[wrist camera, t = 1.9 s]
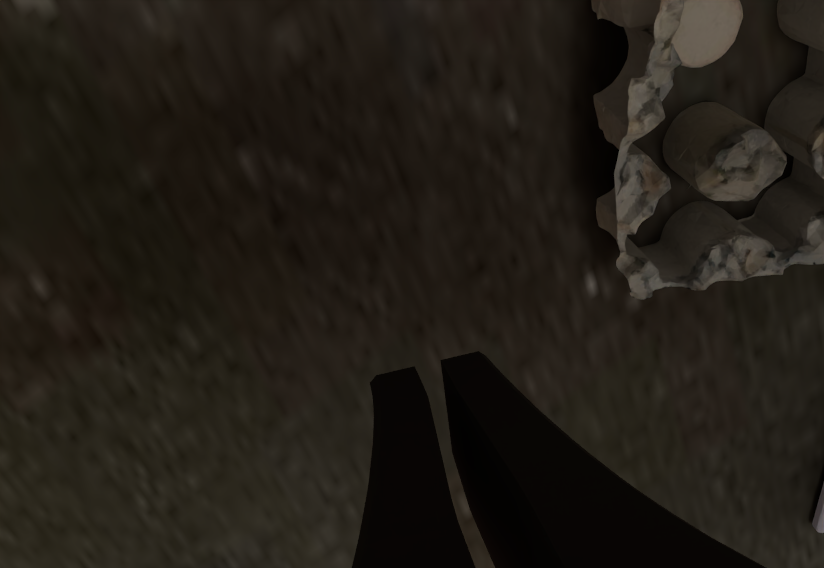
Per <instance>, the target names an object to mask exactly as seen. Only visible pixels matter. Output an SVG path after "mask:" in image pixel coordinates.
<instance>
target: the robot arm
mask: <svg viewBox="0 0 824 568" xmlns="http://www.w3.org/2000/svg"><path fill="white" fill-rule="evenodd" d="M441 366H442V374H443V382H444V390H445V398H446V406H447V414H448V422H449V430H450V437H451V445H452V453H453V456H454V459H455V463H456V466H457V469H458V472H459V476H460V479H461V482H462V485H463V488H464V492H465V495H466V498H467V501H468V504H469V507H470V510H471V513H472V515H473V517H474V520H475V522H476V524H477V527H478V529H479V531H480V534H481V536H482V538H483V540H484V543H485V545H486V547H487V550H488V552H489V554H490V557H491V559H492V561H493V563H494V566H495V568H766V567H764V566H762V565H760V564H758V563H757V562H755V561H753V560H751V559H749V558H747V557H746V556H744V555H742V554H740V553H738V552H737V551H735V550H733V549H731V548H729V547H727V546H726V545H724V544H722V543H720V542H718V541H716V540H715V539H713V538H711V537H709V536H708V535H706V534H705V533H703V532H701V531H700V530H698V529H696V528H695V527H693V526H692V525H690V524H688V523H687V522H685V521H684V520H682V519H680V518H679V517H677V516H676V515H674V514H672V513H671V512H669V511H668V510H666V509H665V508H663V507H662V506H660V505H659V504H657V503H656V502H654V501H653V500H651V499H650V498H648V497H647V496H645V495H644V494H643V493H641V492H640V491H638V490H637V489H636V488H634V487H633V486H631V485H630V484H629V483H627V482H626V481H625V480H623V479H622V478H620V477H619V476H618V475H616V474H615V473H614V472H612V471H611V470H610V469H609V468H607V467H606V466H605V465H603V464H602V463H601V462H600V461H598V460H597V459H596V458H594V457H593V456H592V455H591V454H589V453H588V452H587V451H586V450H585V449H583V448H582V447H581V446H580V445H578V444H577V443H576V442H575V441H574V440H572V439H571V438H570V437H569V436H568V435H567V434H566V433H564V432H563V431H562V430H561V429H560V428H559V427H558V426H556V425H555V424H554V423H553V422H552V421H551V420H550V419H548V418H547V417H546V416H545V415H544V414H543V413H542V412H541V411H540V410H539V409H537V408H536V407H535V406H534V405H533V404H532V403H531V402H530V401H529V400H528V399H527V398H526V397H525V396H524V395H523V394H522V393H521V392H520V391H519V390H518V389H517V388H516V387H515V386H514V385H513V384H512V383H511V382H510V381H509V380H508V379H507V378H506V377H505V376H504V375H503V374H502V373H501V372H500V371H499V370H498V369H497V368H496V367H495V366H494V365H493V363H492V362H491V361H490V360H489V359H488V358H487V357H486V356H485V355H484V354H482V353H480V352H479V351H478V352H474V353H469V354H465V355H461V356H457V357H452V358H448V359H444V360H441ZM370 385H371V390H372V395H373V405H374V431H373V448H372V457H371V467H370V476H369V484H368V491H367V497H366V502H365V508H364V513H363V519H362V524H361V530H360V535H359V540H358V544H357V548H356V553H355V557H354V561H353V565H352V568H475V566H474V563H473V560H472V558H471V555H470V552H469V550H468V547H467V544H466V542H465V539H464V536H463V534H462V531H461V528H460V526H459V523H458V520H457V516H456V513H455V509H454V506H453V503H452V499H451V495H450V491H449V486H448V482H447V478H446V473H445V469H444V464H443V460H442V456H441V451H440V447H439V443H438V438H437V434H436V429H435V425H434V421H433V416H432V412H431V408H430V403H429V399H428V396H427V393H426V391H425V389H424V386H423V384H422V382H421V379H420V377H419V375H418V373H417V371H416V369H415V367H410V368H406V369H401V370H397V371H393V372H389V373H384V374H380V375H376V376H375V377H374V379H373V380H372V381H371V382H370ZM812 526H813V527H814V528H815V529H816V531H817V532H819V533H824V483H823V487H822V490H821V494H820V497H819V501H818V504H817V508H816V512H815V515H814V519H813V522H812Z"/></svg>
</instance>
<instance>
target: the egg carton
mask: <svg viewBox="0 0 824 568" xmlns="http://www.w3.org/2000/svg"><path fill="white" fill-rule="evenodd" d="M591 3H592V10H593V11H594V12H596V13H597V18H598V19H601V18H603V19H606V20H609V21H612V22H613V23H614V24H616V25H618V26H622V27H624V29H625V32H626V35H627V38H628V44H629V50H628V57H627V60H626V62H625V64H624V66H623V68H622V70H621V72H620V74H619V75H618V76H617V78H616V79H615V80H614V82H613V83H612V84H611V85H609V86H608V87H607V88H605V89H604V90H602V91H601V92H599V93H596V94H595V95H594V96H593V99H594V106H595V110H596V114H597V118H598V126H599V128H600V129H602V130H603V133H604V136H605V138H606V140H607V141H608V142H610V143H612V144H614V145H615V146H616V147H617V148H618V149H619V154H618V159H617V163H616V168H615V172H614V180H615V187H614V188H613V189H612V190H611V191H610V192H608V193H606V194H605V195H603V196H601V197H599V198H597V204H596V217H597V222H598V225H599V227H601V228H602V229H604V230H606V231H608V232H610V234H611V235H612V236H613V237H614V238H615V239H616V241H617V244H618V247H619V250H620V256H619V258H618V259H617V261H616V266H617V267H618V269H619V271H620V272H622V273H623V274H624V275H625V276H626V278H627V279H628V282H629V286H630V289H631V293H630V295H631V296H632V297H634V298H637V299H642V300H643V299H647V298H650V297H652V295H653V293H652V291H654V290H655V289H660V288H665V287H679V286H683V287H686V288H688V289H692V290H705V289H706V288H707V287H708V286H709V285H711V284H712V283H714V282H716V281H726V280H734V281H743V280H745V279H747V278H750V277H753V276H765V275H783V270H784V269H785V268H787V267H788V266H790V265H791V264H808V265H813V264H824V0H778V3H777V19H778V23H779V27H780V29H781V30H782V31H783V33H784V34H785V35H787V36H788V37H789V38H791V39H793V40H795V41H798V42H800V43H803V44H806V45H808V46H809V49H808V56H807V64H806V70H805V73H804V75H803V76H801V77H800V78H798V79H796V80H794V81H792V82H790V83H789V84H788V85H786V86H785V87H784V88H783V89H782V90H781V91H780V92H779V93H778V94H777V95H776V96H775V98H774V99H773V100H772V102H771V104H770V105H769V108H768V111H767V114H766V118H765V126H764V129H765V130H764V129H763V128H761V127H760V126H758V125H756V124H754V123H753V122H751V121H749V120H747V119H745V118H744V117H742V116H740V115H739V114H737V113H735V112H734V111H732V110H730V109H729V108H727V107H725V106H723V105H721V104H719V103H717V102H700V103H697V104H694V105H692V106H690V107H688V108H687V109H685V110H683V111H682V112H681V113H680V114H679V115H678V116H677V117H676V118H675V119H674V120H673V122H672V123H671V125H670V126H669V128H668V130H667V132H666V135H665V137H664V140H663V150H662V151H663V155H664V159H665V162H666V163H667V164H668V166H669V167H670V168H671V169H672V170H673V171H674V172H676V173H677V174H678V175H680V176H681V177H682V178H683V179H685V180H686V181H687V182H688V183H689V184H690V186H691V185H692V186H693V187H694V188H695V189H696V190H697V191H699V192H700V193H702V194H703V195H705V196H706V197H707V198H710V199H712V200H714V201H749V200H752V199H754V198H755V197H756V196H757V195H758V194H759V193H760V191H761V190H762V189H764V188H765V187H767V186H768V185H770V184H771V183H772V182H773V181H774V180H775V179H777V178H778V177H780V176H781V175H782V173H783V171H784V169H785V166H786V164H787V157H786V155H785V154H784V152H783V151H785V152H786V153H788V154H790V155H791V156H793V157H794V159H793V166H792V172H791V175H790V176H789V177H787V178H785V179H783V180H781V181H779V182H778V183H776V184H774V185H773V186H772V187H771V188H770V189H768V190H767V191H766V192H765V194H764V195H763V197H762V198H761V199H760V201H759V203H758V205H757V207H756V209H755V212H754V214H753V215H752V216H750V217H748V218H743V219H740V220H736V219H735V218H733V217H732V216H731V215H730V214H729V213H727V212H726V211H725V210H724V209H722V208H720V207H718V206H717V205H715V204H713V203H711V202H709V201H695V202H691V203H689V204H687V205H685V206H683V207H681V208H680V209H679V210H677V211H676V212H675V213H674V214H673V215H672V216H671V217H670V218H669V220H668V221H667V222H666V224H665V226H664V228H663V230H662V234H661V237H660V240H659V241H658V242H656V243H654V244H650V245H647V246H643V247H639V248H638V247H637V246H636V245H635V244H634V243H633V242H632V241H631V240H630V239H629V238H628V237H627V234H636V232H637V229H638V227H639V225H640V224H641V223H642V222H643V221H644V220H645V219H647V218H649V217H650V216H652V215H653V214H654V211H655V209H656V206H657V203H658V200H659V198H660V197H662V196H663V195H664V194H665V193H666V192H667V191H669V190H670V189H671V185H670V179H669V176H668V175H666V174H665V173H664V172H662V171H661V170H660V169H659V168H658V166H657V165H656V164H655V163H654V162H653V161H652V160H651V158H650V157H649V156H648V155H646V154H645V153H644V152H643V151H641V150H640V149H639V148H638V147H636V146H635V145H634V144H632V142H633V141H635V140H637V139H639V138H641V137H642V136H644V135H646V134H647V133H648V132H650V131H651V130H653V129H654V128H655V127H656V126H657V125H658V124H659V123H660V122H661V121H662V120H663V119H664V118H665V114H664V110H663V106H662V101H663V100H664V98H665V97H666V96H667V94H668V92H669V91H670V89H671V88H672V87H673V80H672V79H673V77H674V69H676V68H677V67H678V66H680V65H682V66H686V67H689V68H697V67H703V66H705V65H708V64H710V63H712V62H714V61H715V60H717V59H718V58H720V57H721V56H722V55H723V54H724V53H725V52H726V51H727V50H728V49H729V47H730V46H731V45H732V44H733V42H734V41H735V38H736V36H737V33H738V30H739V27H740V24H741V21H742V18H743V11H742V6H741V3H740V1H739V0H591ZM781 149H782V150H783V151H782V150H781ZM690 186H689V187H690ZM689 187H688V188H689ZM688 188H687V189H688Z"/></svg>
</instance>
